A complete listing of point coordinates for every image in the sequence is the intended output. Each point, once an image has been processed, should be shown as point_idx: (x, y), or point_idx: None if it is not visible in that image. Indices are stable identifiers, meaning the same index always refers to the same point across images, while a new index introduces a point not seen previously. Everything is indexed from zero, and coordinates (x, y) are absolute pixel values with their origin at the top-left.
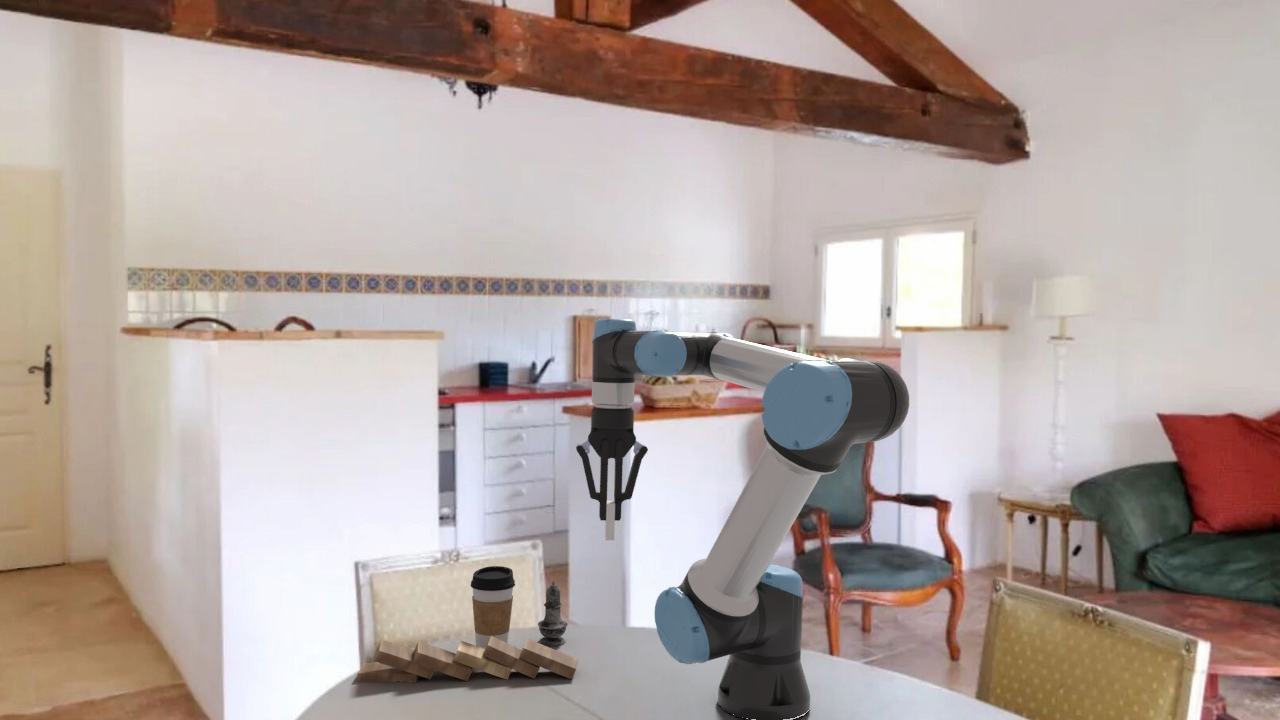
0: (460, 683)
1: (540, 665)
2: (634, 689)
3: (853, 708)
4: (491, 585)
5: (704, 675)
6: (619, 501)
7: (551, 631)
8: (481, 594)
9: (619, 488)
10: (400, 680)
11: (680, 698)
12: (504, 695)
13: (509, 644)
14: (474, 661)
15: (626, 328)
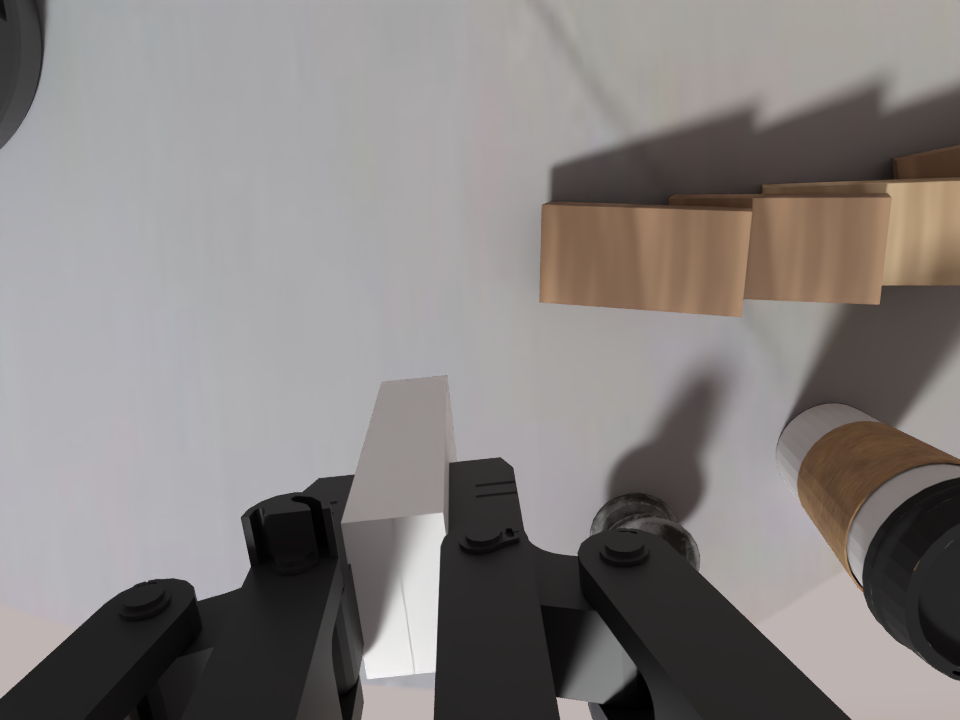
0: (913, 139)
1: (667, 205)
2: (336, 130)
3: None
4: None
5: (109, 278)
6: (276, 508)
7: (646, 517)
8: None
9: (245, 661)
10: None
11: (174, 59)
12: (766, 41)
13: (796, 298)
14: (904, 181)
15: None
